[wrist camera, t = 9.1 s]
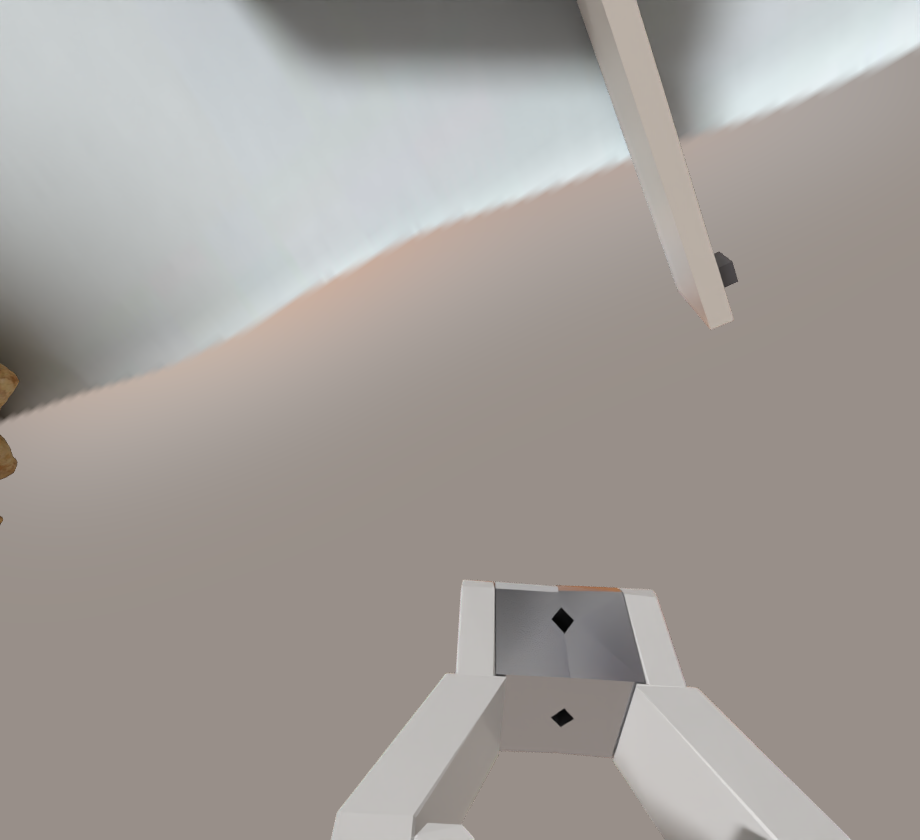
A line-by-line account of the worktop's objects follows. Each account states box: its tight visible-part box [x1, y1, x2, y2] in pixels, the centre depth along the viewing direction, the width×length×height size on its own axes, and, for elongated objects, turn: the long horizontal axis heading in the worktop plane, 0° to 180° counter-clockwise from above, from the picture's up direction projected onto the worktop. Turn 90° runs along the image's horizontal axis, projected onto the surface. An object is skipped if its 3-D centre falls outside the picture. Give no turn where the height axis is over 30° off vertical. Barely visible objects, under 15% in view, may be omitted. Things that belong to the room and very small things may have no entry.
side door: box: [576, 0, 738, 330], centre depth 18 cm, size 13×2×5 cm, turn 28°
